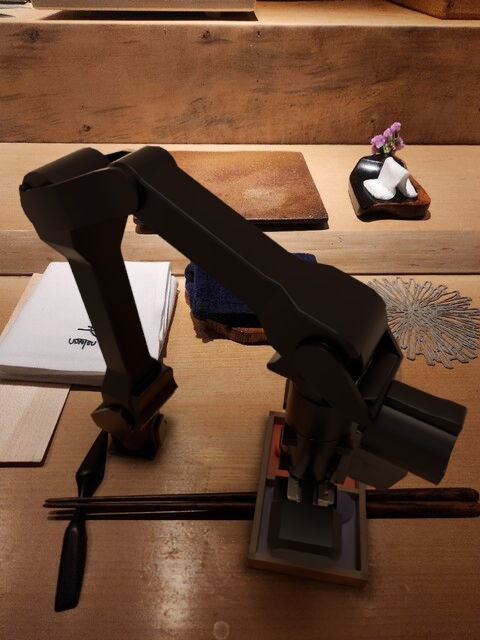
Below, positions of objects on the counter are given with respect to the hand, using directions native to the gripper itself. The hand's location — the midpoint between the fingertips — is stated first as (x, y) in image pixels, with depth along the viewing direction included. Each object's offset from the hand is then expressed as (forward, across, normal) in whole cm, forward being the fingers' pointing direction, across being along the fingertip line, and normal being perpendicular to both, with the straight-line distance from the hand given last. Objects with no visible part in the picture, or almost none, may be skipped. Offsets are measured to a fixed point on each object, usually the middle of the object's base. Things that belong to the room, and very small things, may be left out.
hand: (299, 498), depth 50 cm
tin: (+8, +22, -12) cm, 26 cm away
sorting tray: (+7, +5, -2) cm, 9 cm away
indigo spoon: (+1, 0, -1) cm, 2 cm away
